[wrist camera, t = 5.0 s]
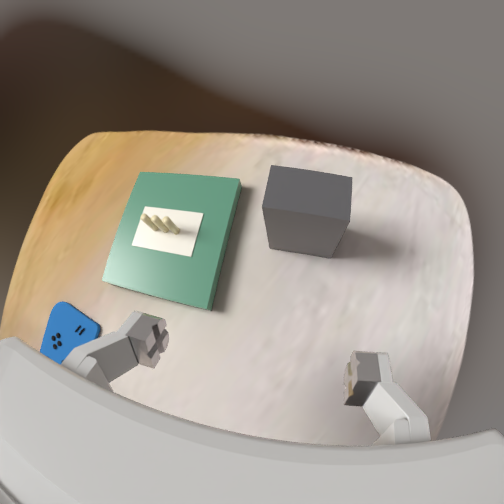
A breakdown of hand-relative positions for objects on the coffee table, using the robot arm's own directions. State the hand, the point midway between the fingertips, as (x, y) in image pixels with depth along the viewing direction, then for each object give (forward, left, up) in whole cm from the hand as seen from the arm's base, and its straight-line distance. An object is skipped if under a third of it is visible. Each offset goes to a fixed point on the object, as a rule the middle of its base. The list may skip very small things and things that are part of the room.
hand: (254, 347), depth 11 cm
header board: (+8, +12, -13) cm, 19 cm away
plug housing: (+10, -1, -13) cm, 17 cm away
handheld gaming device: (-10, +23, -14) cm, 28 cm away
